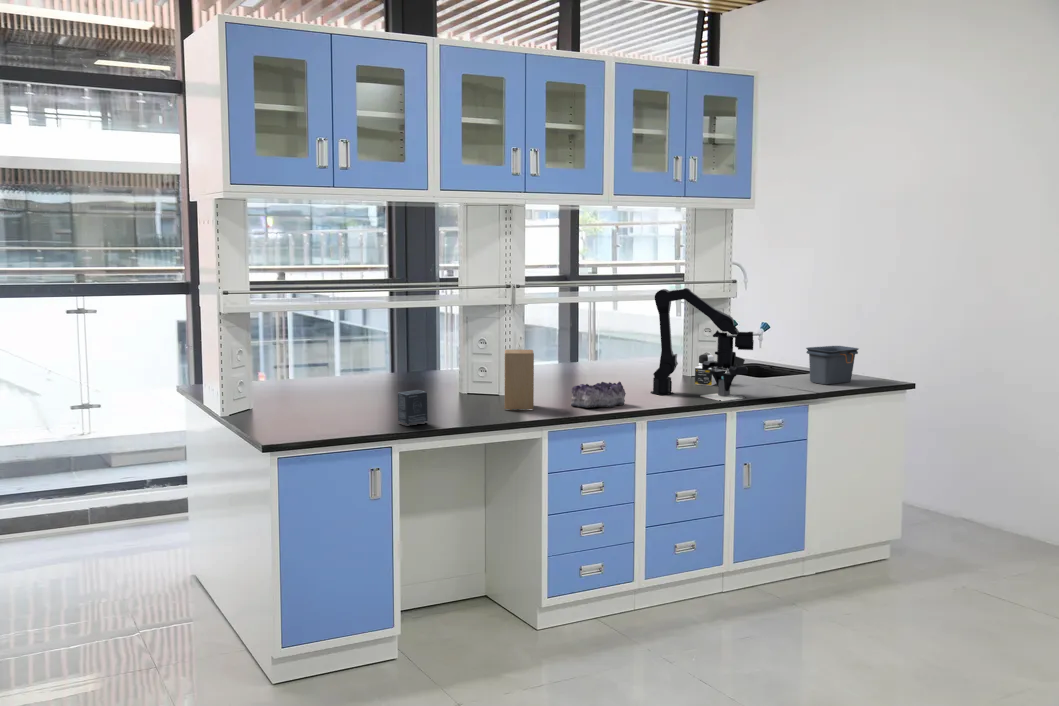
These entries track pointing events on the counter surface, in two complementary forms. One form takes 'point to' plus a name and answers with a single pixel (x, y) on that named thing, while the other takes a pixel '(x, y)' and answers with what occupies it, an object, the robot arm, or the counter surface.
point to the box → (412, 406)
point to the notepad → (722, 397)
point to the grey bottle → (722, 388)
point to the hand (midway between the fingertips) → (723, 390)
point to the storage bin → (831, 364)
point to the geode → (598, 395)
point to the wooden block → (519, 379)
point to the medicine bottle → (704, 372)
